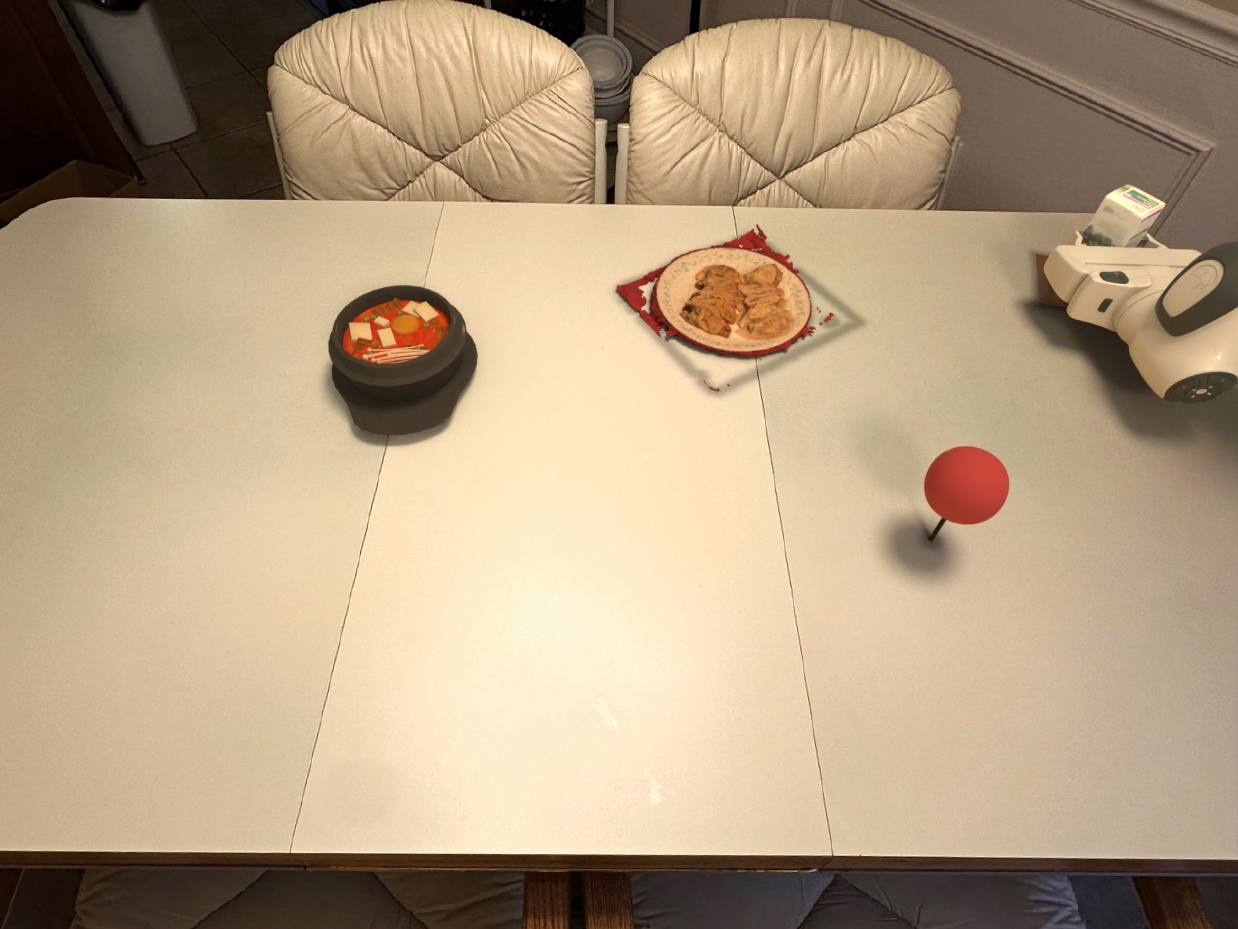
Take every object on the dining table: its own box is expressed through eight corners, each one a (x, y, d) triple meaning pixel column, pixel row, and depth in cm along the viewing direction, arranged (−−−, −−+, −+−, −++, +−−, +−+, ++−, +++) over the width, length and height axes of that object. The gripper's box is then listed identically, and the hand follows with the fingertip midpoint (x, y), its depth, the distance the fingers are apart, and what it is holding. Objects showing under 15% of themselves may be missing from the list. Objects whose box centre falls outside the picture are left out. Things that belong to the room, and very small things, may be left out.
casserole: (483, 437, 91) (473, 390, 85) (327, 452, 89) (305, 406, 83) (476, 303, 106) (468, 254, 99) (343, 314, 104) (325, 265, 98)
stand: (1115, 274, 113) (1118, 268, 113) (1124, 325, 106) (1128, 319, 105) (1033, 258, 115) (1036, 253, 114) (1036, 308, 108) (1040, 302, 107)
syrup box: (1109, 289, 110) (1169, 201, 98) (1085, 303, 107) (1144, 215, 96) (1075, 268, 112) (1130, 181, 101) (1051, 281, 110) (1105, 194, 99)
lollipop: (967, 530, 84) (1027, 448, 73) (954, 584, 80) (1016, 506, 68) (900, 505, 86) (948, 421, 74) (884, 556, 82) (933, 476, 70)
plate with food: (614, 296, 108) (614, 277, 105) (752, 236, 116) (755, 217, 114) (713, 400, 96) (716, 382, 94) (858, 326, 105) (865, 307, 102)
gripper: (1244, 284, 93) (1195, 219, 102) (1081, 278, 93) (1046, 213, 102) (1211, 322, 98) (1167, 257, 107) (1056, 317, 98) (1025, 252, 107)
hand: (1107, 235), depth 104 cm, fingers closed on syrup box, 7 cm apart
